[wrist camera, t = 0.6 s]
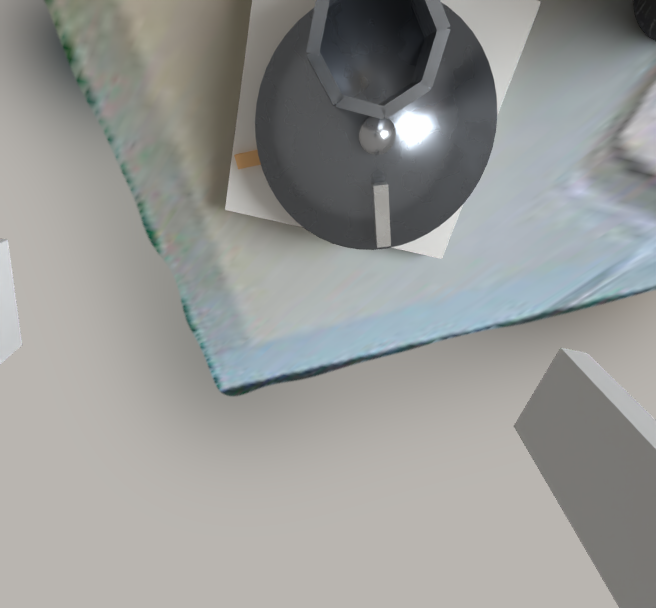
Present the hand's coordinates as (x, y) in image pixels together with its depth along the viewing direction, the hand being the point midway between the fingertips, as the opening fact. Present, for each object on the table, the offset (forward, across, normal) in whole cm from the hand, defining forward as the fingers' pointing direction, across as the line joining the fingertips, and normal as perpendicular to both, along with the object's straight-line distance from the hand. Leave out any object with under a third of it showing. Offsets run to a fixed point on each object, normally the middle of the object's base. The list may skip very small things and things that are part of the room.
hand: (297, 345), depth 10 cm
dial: (+23, +4, +4) cm, 23 cm away
